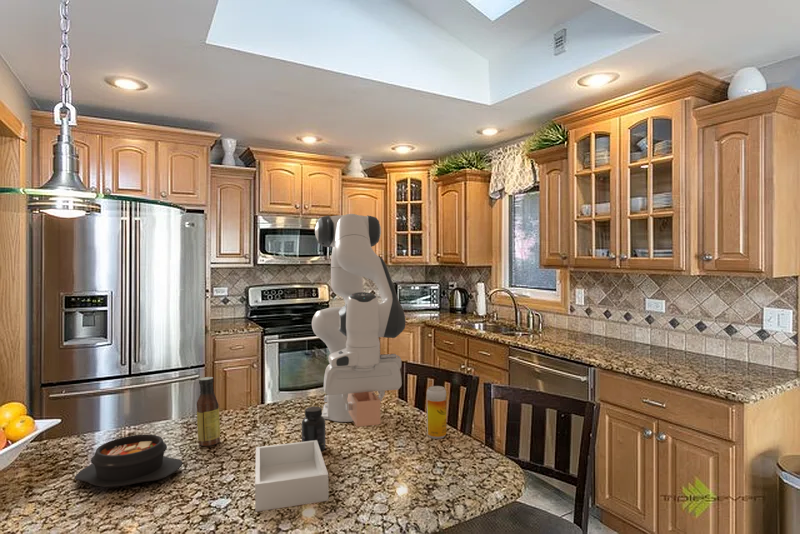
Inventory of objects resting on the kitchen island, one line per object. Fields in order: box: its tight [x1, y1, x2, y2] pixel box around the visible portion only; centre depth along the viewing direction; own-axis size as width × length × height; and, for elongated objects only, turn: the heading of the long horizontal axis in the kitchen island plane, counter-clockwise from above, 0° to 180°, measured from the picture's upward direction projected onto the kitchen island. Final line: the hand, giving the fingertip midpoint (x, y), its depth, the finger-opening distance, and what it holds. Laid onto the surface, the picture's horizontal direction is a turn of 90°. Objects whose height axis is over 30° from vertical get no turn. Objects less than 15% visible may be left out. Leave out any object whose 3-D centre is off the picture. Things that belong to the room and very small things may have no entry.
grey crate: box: [254, 440, 330, 512], centre depth 116 cm, size 22×16×6 cm
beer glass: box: [426, 385, 448, 440], centre depth 147 cm, size 6×6×15 cm
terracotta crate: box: [347, 391, 382, 428], centre depth 123 cm, size 13×6×6 cm, turn 16°
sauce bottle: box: [196, 376, 221, 447], centre depth 143 cm, size 7×6×20 cm
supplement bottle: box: [301, 406, 326, 453], centre depth 137 cm, size 7×7×12 cm
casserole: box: [74, 434, 183, 488], centre depth 121 cm, size 25×19×8 cm
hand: (363, 408), depth 123 cm, fingers closed on terracotta crate, 6 cm apart
